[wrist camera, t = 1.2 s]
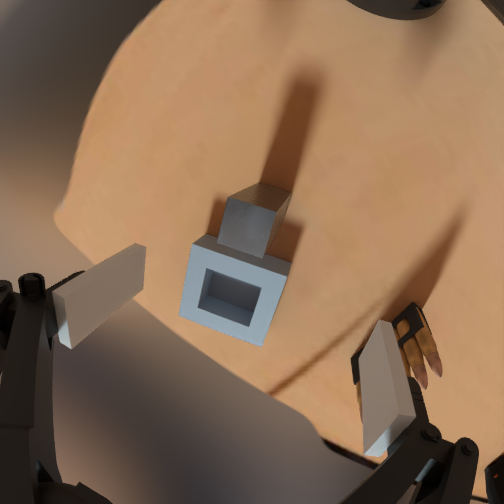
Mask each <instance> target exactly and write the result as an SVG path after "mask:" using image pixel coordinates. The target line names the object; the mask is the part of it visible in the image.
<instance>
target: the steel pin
mask: <svg viewBox="0 0 504 504" xmlns="http://www.w3.org/2000/svg"><path fill="white" fill-rule="evenodd" d="M291 193H292V192H289V191H286V190H283V189H280V188H277V187H273V186H270V185H267V184H264V183H260V182H259V183H257V184H254V185H252V186H250V187H248V188H246V189H244V190H242V191H239V192H237V193H235V194H233V195H231V196H229V197H228V200H227V203H226V207H225V211H224V215H223V219H222V223H221V227H220V231H219V236H218V240H217V243H219V244H222V245H224V246H227V247H230V248H233V249H236V250H239V251H242V252H245V253H248V254H251V255H254V256H257V257H260V258H263V257H264V255H265V253H266V251H267V250H268V248H269V246H270V244H271V243H272V241H273V239H274V237H275V235H276V234H277V232H278V230H279V228H280V227H281V225H282V222H283V219H284V216H285V213H286V210H287V206H288V203H289V200H290V197H291Z"/></svg>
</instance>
